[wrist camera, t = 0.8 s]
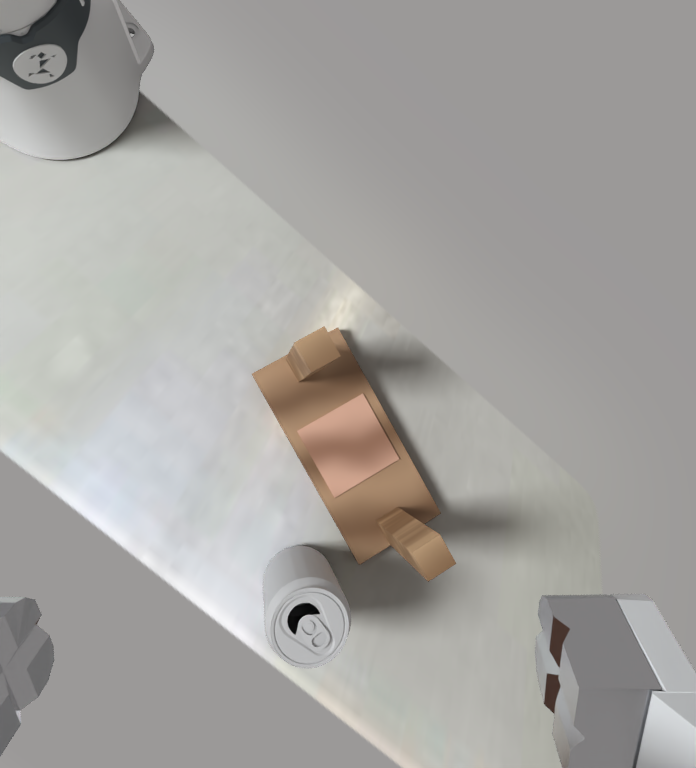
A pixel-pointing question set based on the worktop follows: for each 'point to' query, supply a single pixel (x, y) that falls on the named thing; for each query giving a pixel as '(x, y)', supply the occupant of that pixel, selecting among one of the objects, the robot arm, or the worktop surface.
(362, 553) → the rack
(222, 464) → the worktop surface
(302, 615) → the beverage can
